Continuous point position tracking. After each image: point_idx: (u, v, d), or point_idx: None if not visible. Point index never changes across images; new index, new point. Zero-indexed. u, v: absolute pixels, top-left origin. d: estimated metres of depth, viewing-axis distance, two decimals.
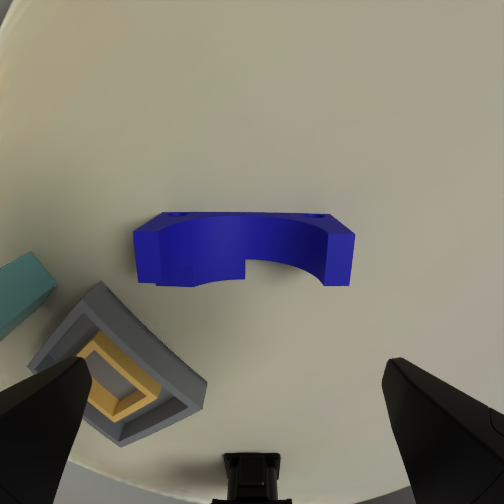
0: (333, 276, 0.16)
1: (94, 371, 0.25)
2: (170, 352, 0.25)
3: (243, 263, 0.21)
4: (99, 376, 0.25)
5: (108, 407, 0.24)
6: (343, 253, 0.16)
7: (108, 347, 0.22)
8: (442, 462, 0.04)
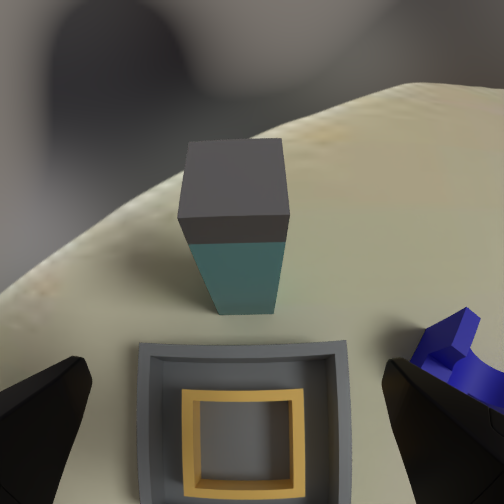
0: None
1: (214, 426, 0.18)
2: None
3: None
4: (213, 437, 0.18)
5: (196, 475, 0.15)
6: None
7: None
8: (442, 462, 0.04)
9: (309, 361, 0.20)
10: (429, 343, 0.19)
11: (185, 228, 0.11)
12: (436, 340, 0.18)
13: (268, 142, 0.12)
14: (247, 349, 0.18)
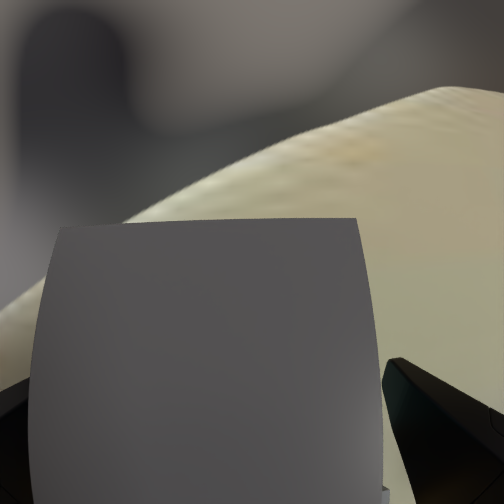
0: None
1: None
2: None
3: None
4: None
5: None
6: None
7: None
8: (442, 462, 0.04)
9: None
10: None
11: None
12: None
13: (314, 234, 0.04)
14: None
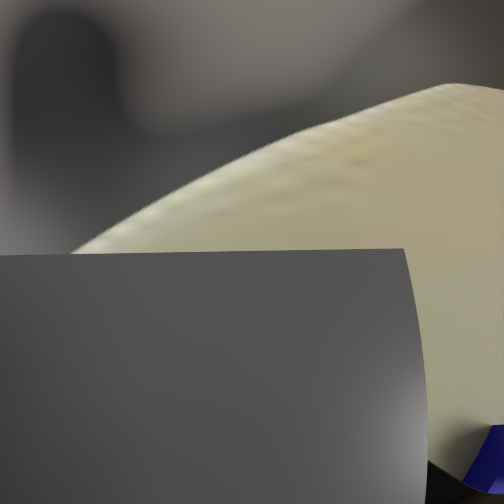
0: None
1: None
2: None
3: None
4: None
5: None
6: None
7: None
8: None
9: None
10: (500, 455, 0.09)
11: None
12: None
13: (345, 278, 0.02)
14: None
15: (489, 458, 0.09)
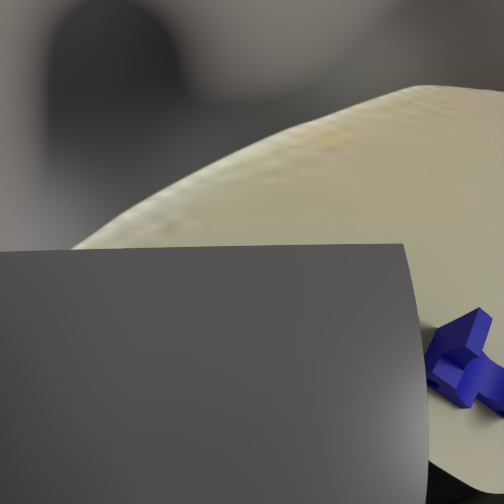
0: None
1: None
2: None
3: (475, 394, 0.17)
4: None
5: None
6: None
7: None
8: None
9: None
10: (441, 343, 0.18)
11: None
12: (449, 340, 0.17)
13: (344, 273, 0.02)
14: None
15: (434, 348, 0.19)
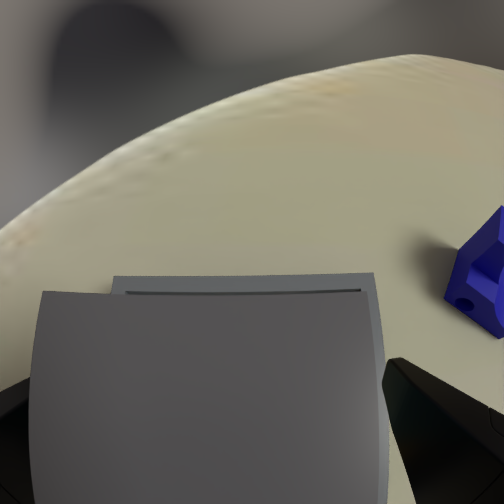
0: None
1: None
2: None
3: None
4: None
5: None
6: None
7: None
8: (442, 462, 0.04)
9: None
10: (468, 256, 0.16)
11: None
12: (476, 248, 0.15)
13: (319, 315, 0.03)
14: (249, 281, 0.14)
15: (461, 264, 0.17)
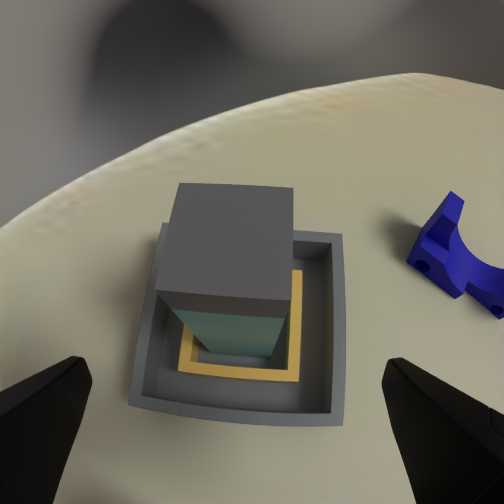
0: None
1: None
2: None
3: (466, 282, 0.21)
4: None
5: (193, 350, 0.19)
6: None
7: None
8: (442, 462, 0.04)
9: (309, 260, 0.23)
10: (425, 230, 0.23)
11: (166, 298, 0.09)
12: (431, 223, 0.22)
13: (276, 192, 0.10)
14: None
15: (420, 236, 0.24)
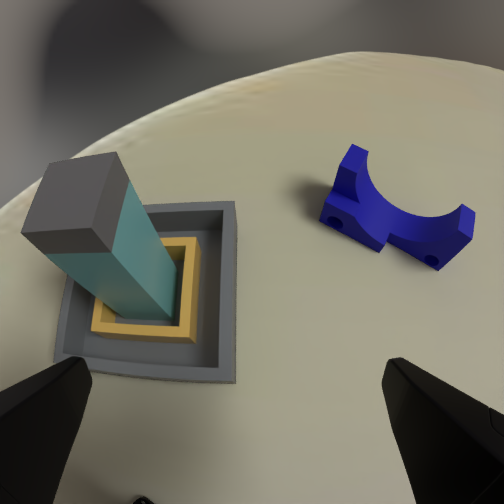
0: (463, 227, 0.19)
1: None
2: (235, 321, 0.22)
3: (387, 234, 0.24)
4: None
5: (104, 313, 0.20)
6: (469, 218, 0.19)
7: (196, 259, 0.22)
8: (442, 462, 0.04)
9: (213, 230, 0.25)
10: None
11: (32, 241, 0.11)
12: None
13: (103, 156, 0.12)
14: (157, 206, 0.23)
15: None
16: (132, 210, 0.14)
